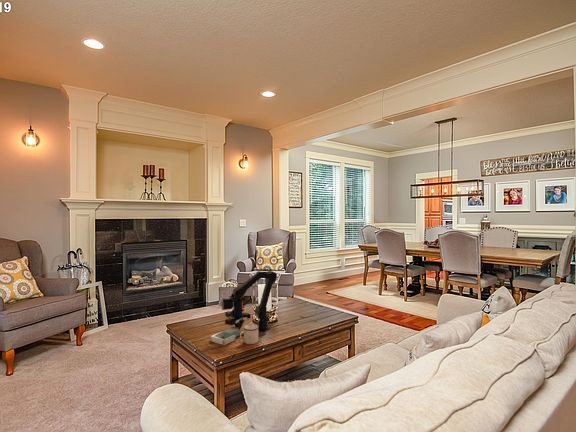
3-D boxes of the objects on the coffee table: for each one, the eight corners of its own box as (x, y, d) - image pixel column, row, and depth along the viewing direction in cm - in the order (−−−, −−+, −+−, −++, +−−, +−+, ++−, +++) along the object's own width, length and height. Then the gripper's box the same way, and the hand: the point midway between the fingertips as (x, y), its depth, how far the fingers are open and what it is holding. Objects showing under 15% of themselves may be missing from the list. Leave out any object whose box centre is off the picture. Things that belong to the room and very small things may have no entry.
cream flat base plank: (222, 336, 209) (222, 331, 209) (235, 339, 203) (235, 335, 203) (210, 341, 201) (210, 336, 201) (224, 345, 195) (224, 340, 195)
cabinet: (232, 333, 213) (232, 325, 213) (239, 335, 210) (239, 327, 210) (223, 337, 207) (223, 329, 206) (230, 339, 203) (230, 331, 203)
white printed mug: (254, 337, 206) (254, 319, 206) (261, 342, 199) (261, 323, 199) (236, 341, 200) (236, 322, 200) (243, 346, 192) (243, 327, 192)
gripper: (238, 302, 225) (238, 325, 225) (218, 309, 210) (218, 333, 210) (251, 305, 219) (251, 328, 219) (231, 312, 204) (231, 337, 204)
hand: (238, 331), depth 213 cm, fingers closed
